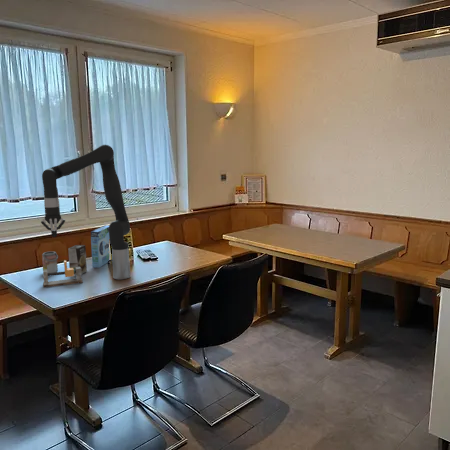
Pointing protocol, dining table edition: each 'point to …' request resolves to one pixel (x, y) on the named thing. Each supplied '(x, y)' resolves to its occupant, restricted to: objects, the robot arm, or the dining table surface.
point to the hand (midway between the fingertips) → (54, 236)
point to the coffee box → (77, 257)
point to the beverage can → (50, 262)
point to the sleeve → (68, 270)
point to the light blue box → (100, 246)
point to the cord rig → (62, 282)
